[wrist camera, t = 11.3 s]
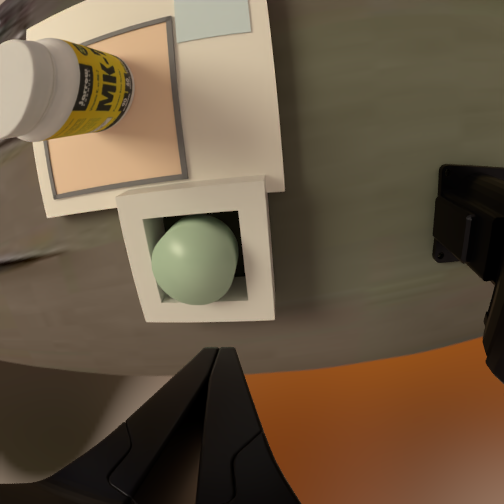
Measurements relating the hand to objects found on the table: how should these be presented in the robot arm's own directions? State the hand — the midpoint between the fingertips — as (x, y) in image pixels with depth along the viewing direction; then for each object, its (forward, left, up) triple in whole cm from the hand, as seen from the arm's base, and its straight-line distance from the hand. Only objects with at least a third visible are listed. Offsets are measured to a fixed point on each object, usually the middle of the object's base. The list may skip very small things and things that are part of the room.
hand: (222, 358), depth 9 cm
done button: (+3, +1, -10) cm, 11 cm away
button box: (+3, +1, -12) cm, 12 cm away
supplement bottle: (+8, -9, -11) cm, 16 cm away
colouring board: (+6, -9, -12) cm, 16 cm away
